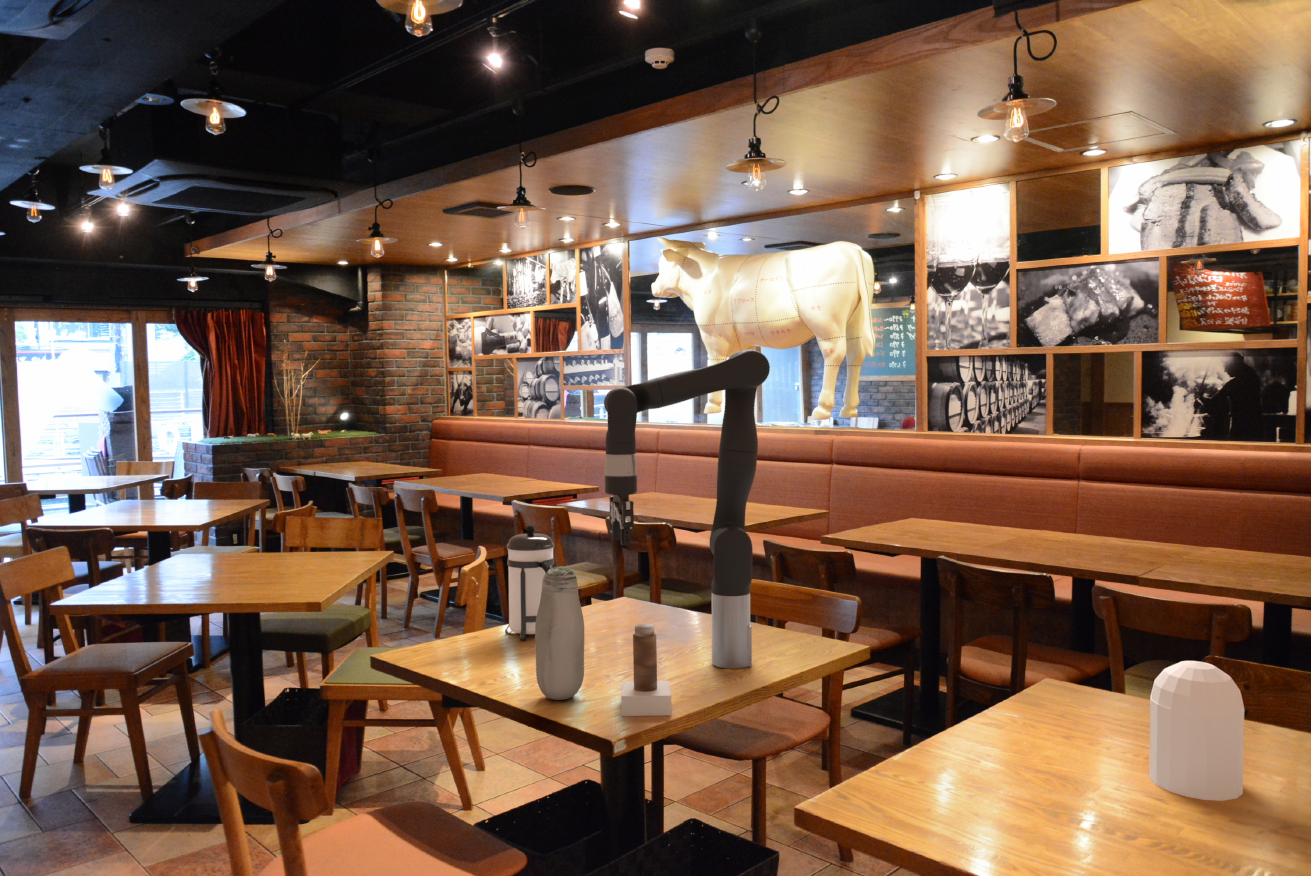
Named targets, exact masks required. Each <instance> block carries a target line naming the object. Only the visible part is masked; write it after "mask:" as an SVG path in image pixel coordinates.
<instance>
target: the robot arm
mask: <svg viewBox="0 0 1311 876" xmlns="http://www.w3.org/2000/svg"><path fill="white" fill-rule="evenodd" d="M770 369H771V367H770V363H769V359H768V358H767V357H766V356H765V354H763V353H762V352H760V351H758V350H755V349H743V350H742V349H741V350H738V351H735V352H734V353H732V354H731V355H730V356H729V358H728V359H725V360H723V361H721V362H719V363H715V364H712V365H708V366H704V367H700V368H695V369H690V370H684V371H679V372H673V373H670V374H666V375H662V376H658V377H655V378H651V379H649V380H646V381H644V382H640V383H635V384H631V385H630V384H629V385H626V386H620V387H616V388H613V389H611V390H609V391H608V392H607V393H606V394H605V396H604V400H603V406H604V409H605V412H607V414H606V415H607V430H606V433H605V458H604V459H605V460H604V493H605V494H606V495H610V496H609V518H608V519H609V521H610V523H611V525H612V526H611V527H612V531H611V532H612V540H613V541H620V544H621V546H624V547H625V546H631V544H632V532H631V531H632V529H633V528H634V527H635V521H634V520H635V519H634V513H635V512H634V504H635V503H634V501H633V500H630V495H636V494H637V492H638V463H637V455H636V454H637V451H636V450H637V448H636V446H637V443H636V441H637V439H636V427H637V418H638V417H637V416H638V413H641V412H645V411H647V410H655V409H661V408H664V407H665V408H666V407H668V406H673V405H675V404H680V403H682V402H686V401H688V400H689V401H690V400H692V399H695V398H699V397H701V396H702V397H703V396H704V395H707V394H712V393H716V392H721V391H724V411H723V418H722V424H721V430H720V431H721V433H720V441H719V447H718V458H717V471H716V472H717V474H716V475H717V476H716V504H715V510H714V515H713V520H712V527H711V532H710V536H709V548H710V551H711V553H712V555H713V578H712V580H711V664H712V665H713V666H715V667H718V668H720V669H721V668H722V669H743V668H746V667H748V666H749V667H753V665H752V664H753V662H752V661H753V655H752V654H753V651H752V650H753V647H752V646H753V645H752V642H753V638H752V637H753V636H752V634H753V631H752V630H753V628H752V625H751V585H752V581H753V561H754V560H753V557H754V556H753V555H754V554H753V543H752V539H751V537H750V535H749V534H748V533H747V532H746V510H747V509H746V508H747V502H748V499H749V495H750V492H751V489H752V486H753V484H754V480H755V475H756V471H757V463H758V462H757V461H758V452H759V442H758V440H759V438H758V431H757V425H756V417H755V403H756V397H757V389H758V387H759V386H761V385H762V384H763V383H765V381H766V380H767V378H768V377H769V375H770V371H771V370H770ZM749 667H748V668H749Z"/></svg>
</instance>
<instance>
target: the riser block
mask: <svg viewBox="0 0 1311 876" xmlns="http://www.w3.org/2000/svg"><path fill="white" fill-rule="evenodd" d="M620 684H621V687H620V688H621V690H620V691H621V692H620V706H621V707H620V708H621V709H620V710H621V712H620V714H621V715H620V716H621V717H640V716H641V717H645V716H649V717H651V716H653V717H654V716H657V717H658V716H672V695H671V694H672V693H671V685H670V681H669V680H657V689H656V690H653V691H637V690H635V689H634V680H632V681H630V680H629V681H627V680H624V681H621V683H620Z"/></svg>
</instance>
